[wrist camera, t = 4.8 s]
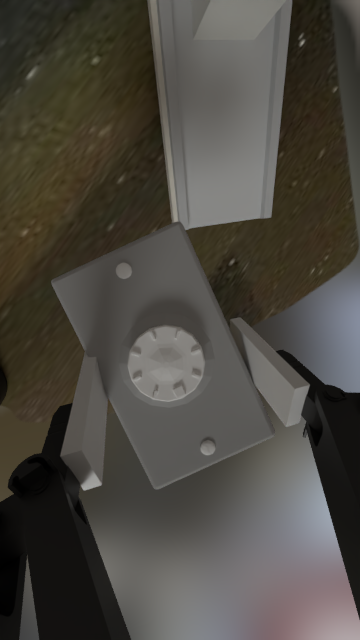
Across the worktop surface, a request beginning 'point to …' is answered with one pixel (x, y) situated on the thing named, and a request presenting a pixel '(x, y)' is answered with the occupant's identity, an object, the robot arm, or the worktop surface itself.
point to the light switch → (165, 355)
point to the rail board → (220, 104)
